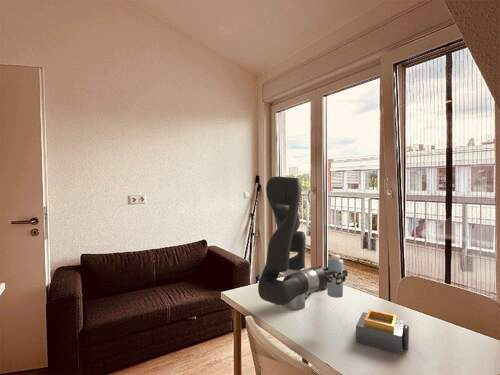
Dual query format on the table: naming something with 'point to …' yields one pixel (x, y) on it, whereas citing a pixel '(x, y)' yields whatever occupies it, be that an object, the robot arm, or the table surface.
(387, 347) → the gold-trimmed base block
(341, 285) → the light blue bottle
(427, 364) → the table surface
